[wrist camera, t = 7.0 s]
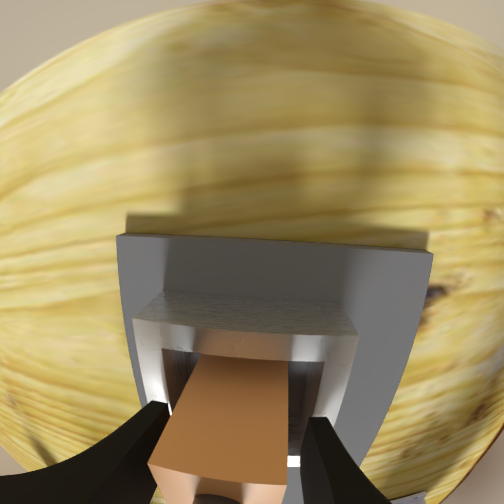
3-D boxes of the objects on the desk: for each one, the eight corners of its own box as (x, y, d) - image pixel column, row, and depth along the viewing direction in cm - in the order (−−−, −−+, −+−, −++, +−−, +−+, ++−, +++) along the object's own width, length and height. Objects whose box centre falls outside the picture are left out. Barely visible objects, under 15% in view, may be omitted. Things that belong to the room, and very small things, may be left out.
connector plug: (287, 346, 12) (284, 537, 3) (280, 403, 12) (270, 561, 4) (208, 339, 12) (125, 507, 4) (211, 396, 13) (158, 543, 4)
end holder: (340, 301, 11) (359, 335, 8) (313, 424, 13) (318, 466, 10) (163, 289, 12) (132, 318, 9) (177, 412, 13) (161, 450, 10)
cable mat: (425, 250, 11) (433, 253, 10) (331, 502, 16) (331, 508, 15) (124, 233, 12) (116, 235, 11) (175, 491, 17) (173, 498, 16)
